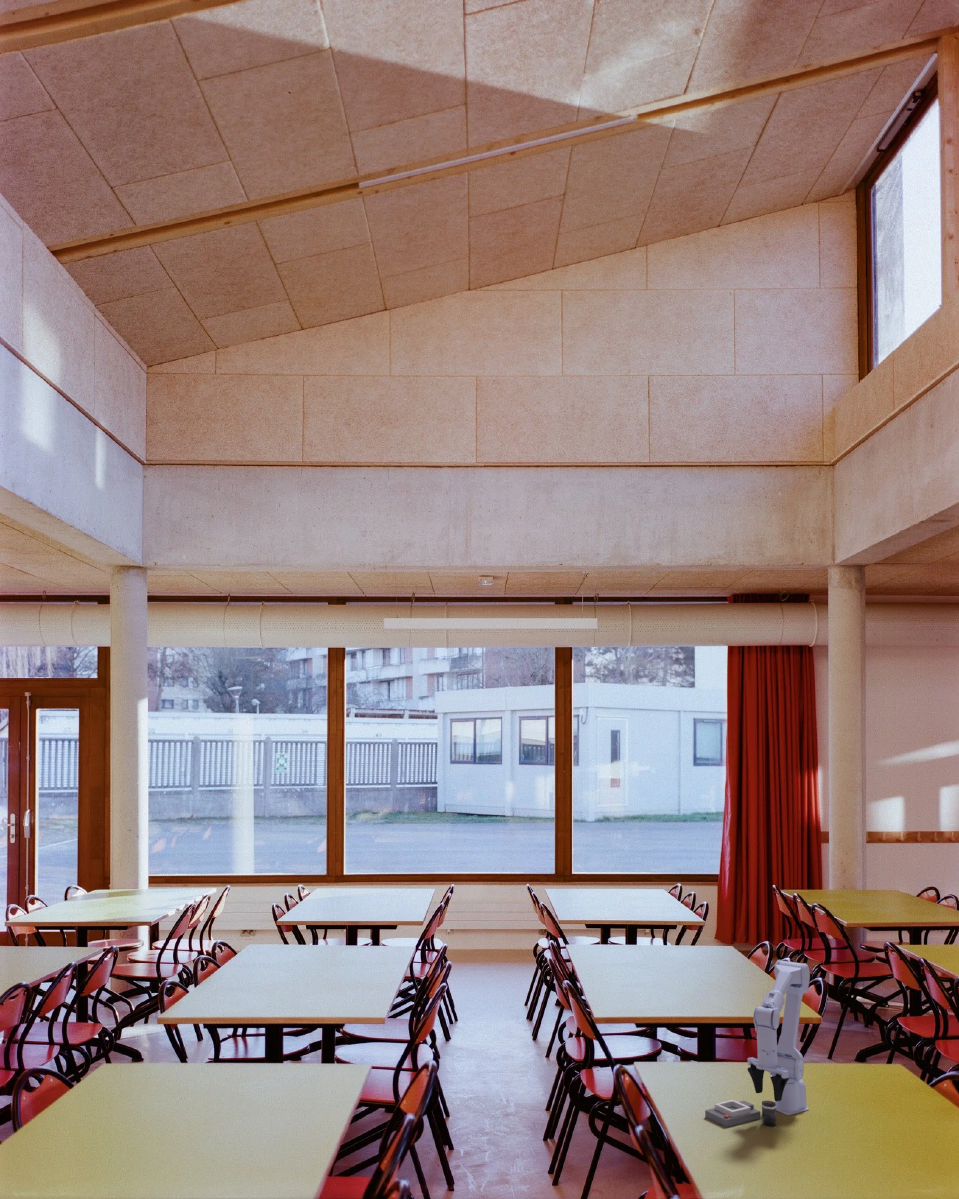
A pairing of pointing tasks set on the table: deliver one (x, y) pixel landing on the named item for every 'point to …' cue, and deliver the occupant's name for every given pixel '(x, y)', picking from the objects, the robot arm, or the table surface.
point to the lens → (769, 1113)
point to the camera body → (732, 1113)
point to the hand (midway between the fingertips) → (768, 1096)
